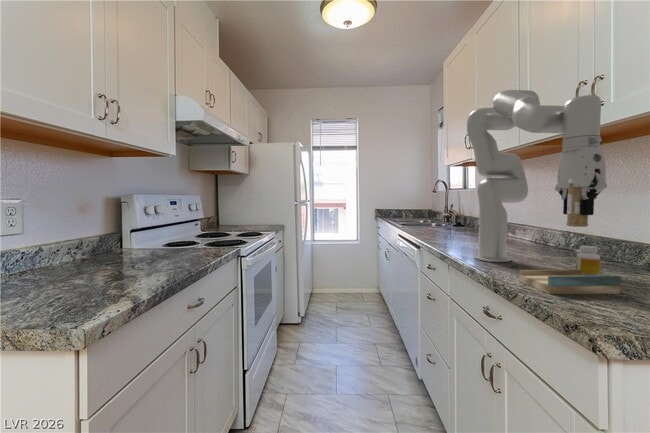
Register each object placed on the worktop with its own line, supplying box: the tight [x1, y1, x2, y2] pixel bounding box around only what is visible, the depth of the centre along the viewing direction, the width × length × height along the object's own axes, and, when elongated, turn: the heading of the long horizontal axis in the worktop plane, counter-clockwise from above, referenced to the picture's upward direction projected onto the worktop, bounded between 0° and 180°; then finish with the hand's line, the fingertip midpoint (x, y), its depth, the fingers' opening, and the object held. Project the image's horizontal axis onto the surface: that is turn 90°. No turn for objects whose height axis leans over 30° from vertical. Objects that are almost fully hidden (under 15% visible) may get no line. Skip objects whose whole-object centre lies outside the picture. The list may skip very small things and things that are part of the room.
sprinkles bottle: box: [566, 179, 589, 228], centre depth 81 cm, size 5×5×13 cm
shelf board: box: [518, 269, 622, 295], centre depth 83 cm, size 12×18×4 cm, turn 91°
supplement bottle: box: [575, 245, 601, 276], centre depth 91 cm, size 5×5×10 cm
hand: (577, 213), depth 81 cm, fingers closed on sprinkles bottle, 4 cm apart
